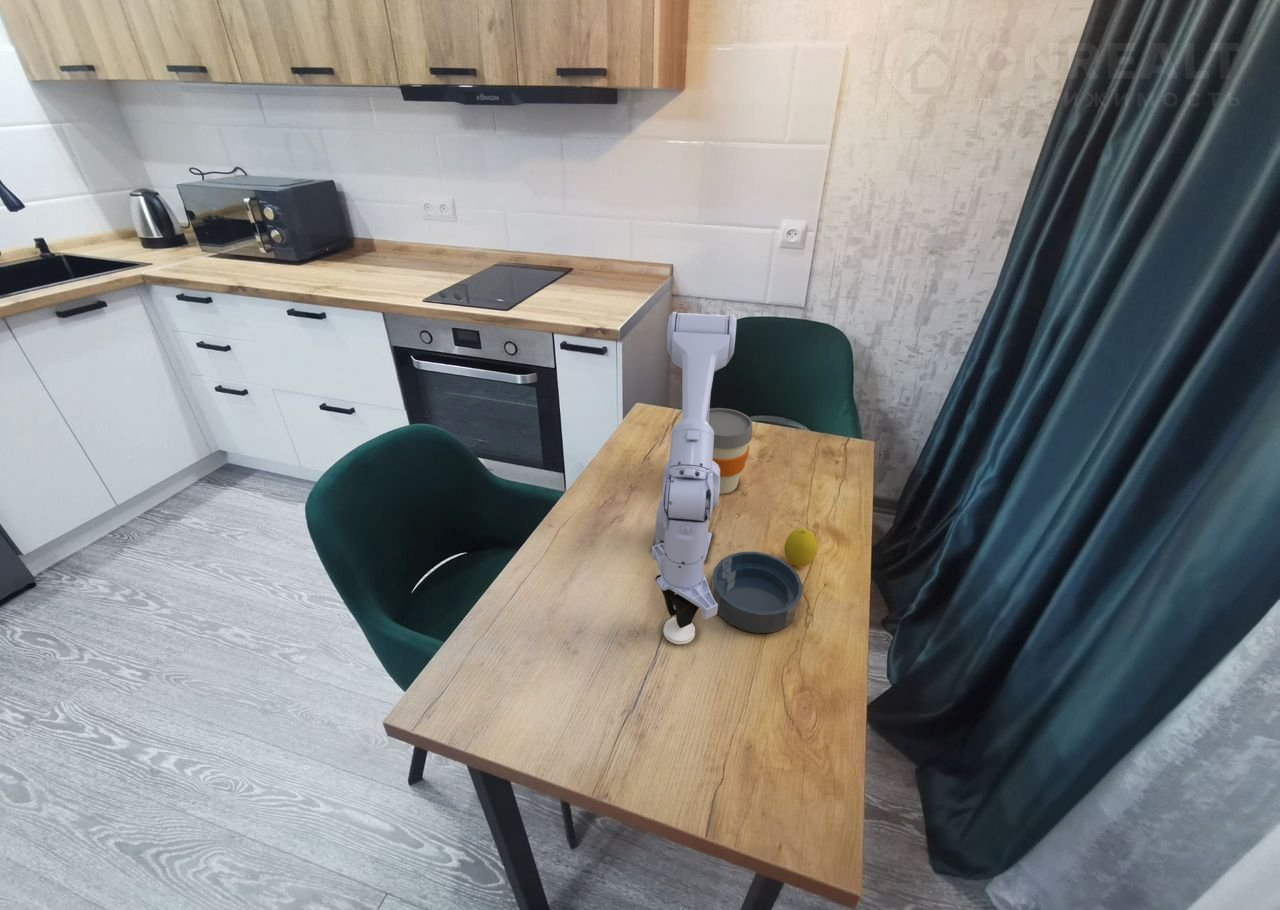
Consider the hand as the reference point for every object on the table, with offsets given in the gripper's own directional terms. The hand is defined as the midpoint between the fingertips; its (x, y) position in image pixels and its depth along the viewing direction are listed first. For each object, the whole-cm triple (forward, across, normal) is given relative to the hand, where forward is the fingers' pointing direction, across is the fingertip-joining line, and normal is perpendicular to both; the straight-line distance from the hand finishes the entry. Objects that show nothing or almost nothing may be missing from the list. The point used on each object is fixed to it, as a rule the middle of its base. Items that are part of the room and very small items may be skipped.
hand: (679, 618), depth 86 cm
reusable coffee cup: (+4, -31, +30) cm, 43 cm away
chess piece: (+3, 0, 0) cm, 3 cm away
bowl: (+3, 0, +14) cm, 15 cm away
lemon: (+3, -3, +27) cm, 27 cm away
